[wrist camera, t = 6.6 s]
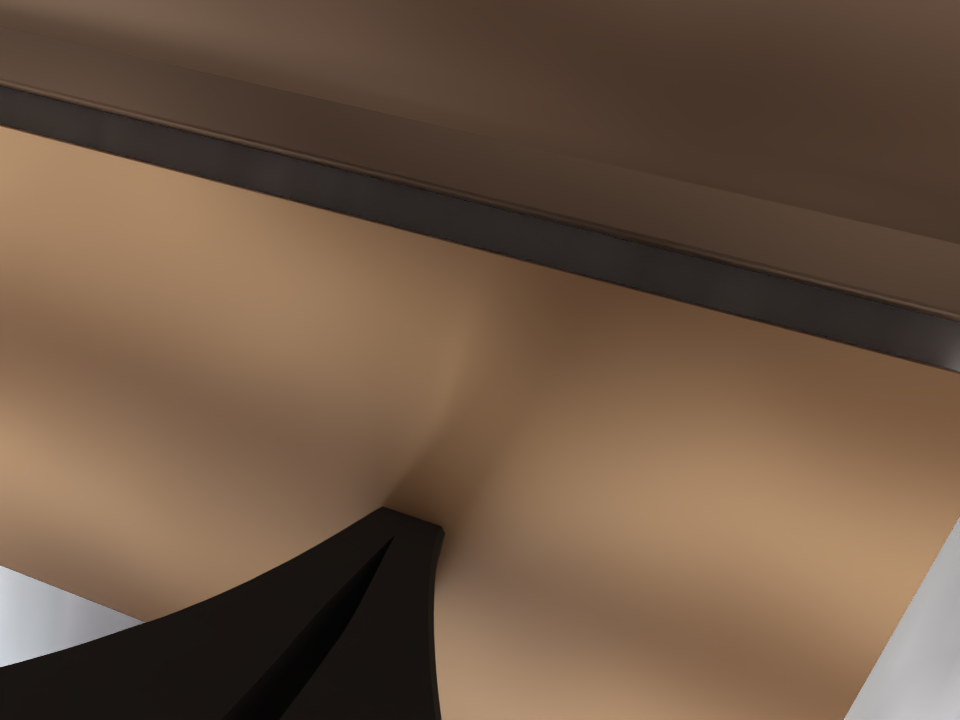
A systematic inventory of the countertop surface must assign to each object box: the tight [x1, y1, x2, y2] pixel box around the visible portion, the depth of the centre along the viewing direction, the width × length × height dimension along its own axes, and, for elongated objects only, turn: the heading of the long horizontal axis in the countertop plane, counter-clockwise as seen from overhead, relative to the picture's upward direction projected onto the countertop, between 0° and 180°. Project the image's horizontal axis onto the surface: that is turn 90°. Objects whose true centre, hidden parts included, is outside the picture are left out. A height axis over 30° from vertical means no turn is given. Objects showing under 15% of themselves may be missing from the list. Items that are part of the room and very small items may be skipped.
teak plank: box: [0, 124, 960, 720], centre depth 10 cm, size 10×26×2 cm, turn 76°
